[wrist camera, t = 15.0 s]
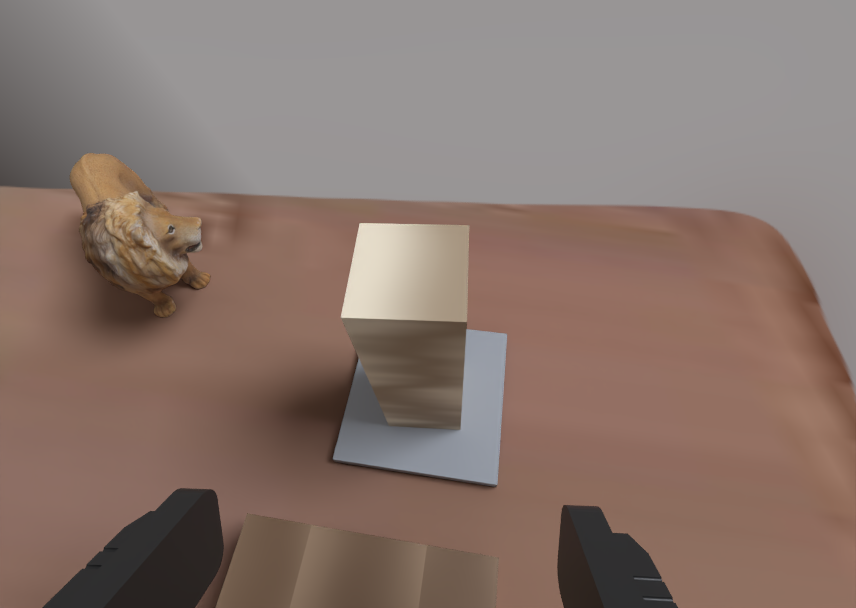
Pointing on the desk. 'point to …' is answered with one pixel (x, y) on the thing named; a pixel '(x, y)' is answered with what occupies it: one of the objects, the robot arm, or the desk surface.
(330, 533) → the socket block
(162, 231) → the lion figurine
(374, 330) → the birch peg
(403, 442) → the slate mat
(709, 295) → the desk surface
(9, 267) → the desk surface
